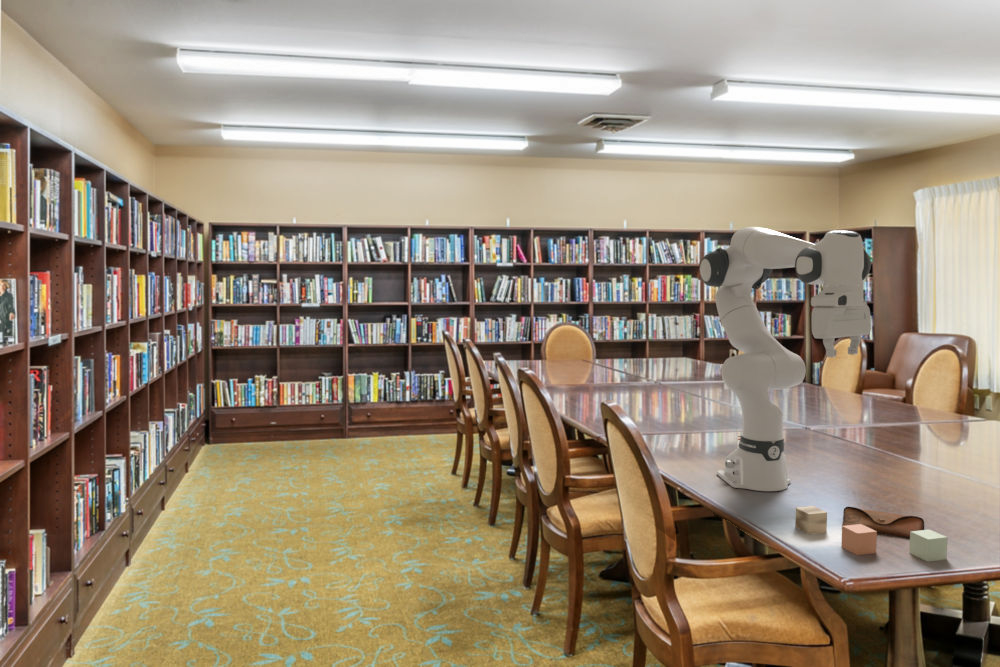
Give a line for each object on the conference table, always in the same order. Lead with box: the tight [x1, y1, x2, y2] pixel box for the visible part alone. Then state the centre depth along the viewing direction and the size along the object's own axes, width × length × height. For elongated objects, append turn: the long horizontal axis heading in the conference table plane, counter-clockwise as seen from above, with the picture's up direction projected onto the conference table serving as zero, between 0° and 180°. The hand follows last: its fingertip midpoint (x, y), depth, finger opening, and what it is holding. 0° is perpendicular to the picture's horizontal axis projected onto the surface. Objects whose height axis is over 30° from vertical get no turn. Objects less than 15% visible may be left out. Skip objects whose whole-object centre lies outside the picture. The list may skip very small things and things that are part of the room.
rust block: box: [840, 524, 878, 556], centre depth 166 cm, size 5×5×5 cm
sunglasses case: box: [841, 506, 925, 540], centre depth 180 cm, size 18×7×7 cm, turn 61°
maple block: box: [794, 505, 828, 535], centre depth 179 cm, size 5×5×5 cm
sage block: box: [909, 529, 948, 562], centre depth 162 cm, size 5×5×5 cm
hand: (842, 355), depth 178 cm, fingers open, 8 cm apart
